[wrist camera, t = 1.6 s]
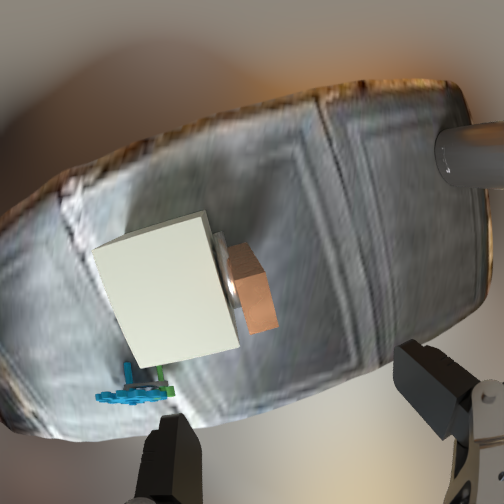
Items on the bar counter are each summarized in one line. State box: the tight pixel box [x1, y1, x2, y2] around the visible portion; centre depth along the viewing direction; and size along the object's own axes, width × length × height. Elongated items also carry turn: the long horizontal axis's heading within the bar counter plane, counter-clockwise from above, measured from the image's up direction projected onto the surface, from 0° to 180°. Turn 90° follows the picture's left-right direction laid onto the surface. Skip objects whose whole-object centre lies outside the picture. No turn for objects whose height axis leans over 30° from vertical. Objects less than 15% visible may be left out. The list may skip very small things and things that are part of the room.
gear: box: [95, 362, 175, 405], centre depth 32 cm, size 11×6×10 cm
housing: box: [91, 210, 240, 369], centre depth 28 cm, size 10×12×10 cm
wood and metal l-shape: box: [213, 231, 279, 335], centre depth 25 cm, size 9×8×14 cm
